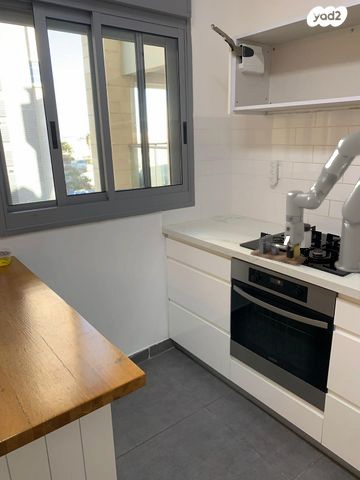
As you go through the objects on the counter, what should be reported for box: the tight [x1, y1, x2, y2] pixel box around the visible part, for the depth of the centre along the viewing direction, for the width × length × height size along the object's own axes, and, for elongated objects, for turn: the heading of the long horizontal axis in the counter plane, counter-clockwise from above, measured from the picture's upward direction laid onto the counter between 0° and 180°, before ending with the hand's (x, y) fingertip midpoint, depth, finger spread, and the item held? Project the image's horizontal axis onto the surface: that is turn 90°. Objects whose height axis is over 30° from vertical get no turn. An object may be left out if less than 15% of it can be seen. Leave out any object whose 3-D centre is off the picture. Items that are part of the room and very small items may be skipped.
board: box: [250, 248, 308, 267], centre depth 171 cm, size 25×10×1 cm, turn 43°
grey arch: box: [258, 234, 274, 254], centre depth 175 cm, size 2×8×9 cm, turn 133°
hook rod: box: [267, 242, 301, 260], centre depth 169 cm, size 16×5×6 cm, turn 43°
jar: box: [300, 222, 312, 249], centre depth 182 cm, size 9×8×12 cm
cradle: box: [272, 247, 280, 256], centre depth 172 cm, size 2×3×4 cm, turn 132°
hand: (293, 256), depth 165 cm, fingers closed on hook rod, 5 cm apart
